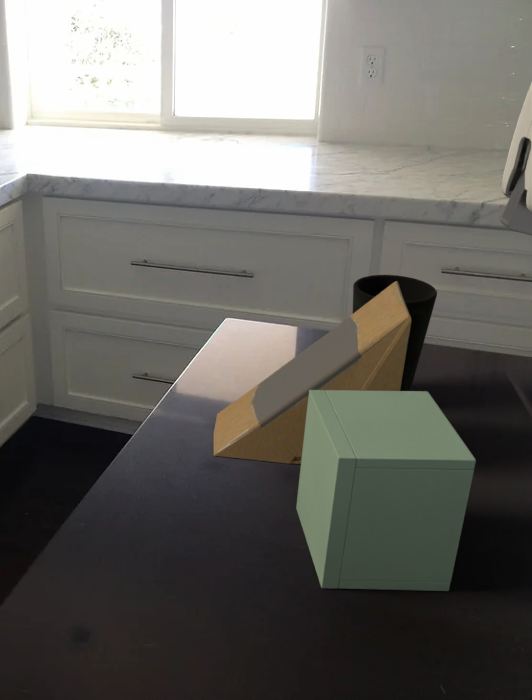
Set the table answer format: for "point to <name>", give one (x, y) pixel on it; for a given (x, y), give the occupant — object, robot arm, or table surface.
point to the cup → (418, 304)
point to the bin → (382, 490)
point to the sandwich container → (317, 381)
